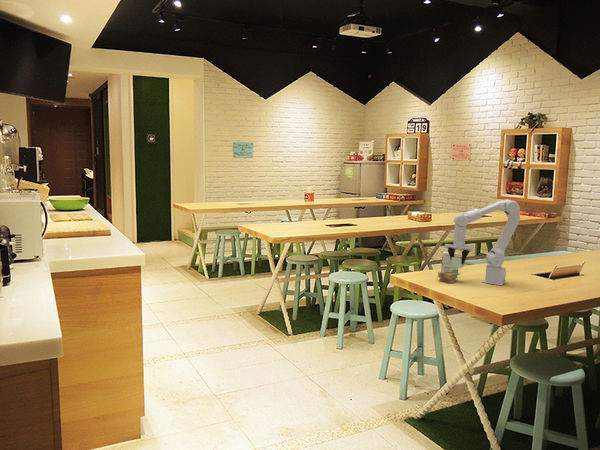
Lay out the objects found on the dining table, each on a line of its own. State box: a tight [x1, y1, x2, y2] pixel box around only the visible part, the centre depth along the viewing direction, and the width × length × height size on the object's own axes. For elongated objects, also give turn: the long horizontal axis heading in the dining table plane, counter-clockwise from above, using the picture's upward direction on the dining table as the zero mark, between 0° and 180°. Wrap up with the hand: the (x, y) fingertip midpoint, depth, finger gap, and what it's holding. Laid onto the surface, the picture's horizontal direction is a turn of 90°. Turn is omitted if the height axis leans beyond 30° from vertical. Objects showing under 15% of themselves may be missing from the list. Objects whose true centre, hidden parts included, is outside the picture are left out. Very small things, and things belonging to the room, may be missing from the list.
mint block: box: [451, 256, 465, 269], centre depth 266 cm, size 5×5×5 cm
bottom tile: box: [438, 278, 457, 285], centre depth 266 cm, size 7×7×2 cm
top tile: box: [437, 271, 459, 280], centre depth 266 cm, size 7×7×2 cm
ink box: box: [440, 251, 460, 274], centre depth 284 cm, size 9×5×12 cm, turn 84°
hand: (457, 263), depth 266 cm, fingers closed on mint block, 5 cm apart
